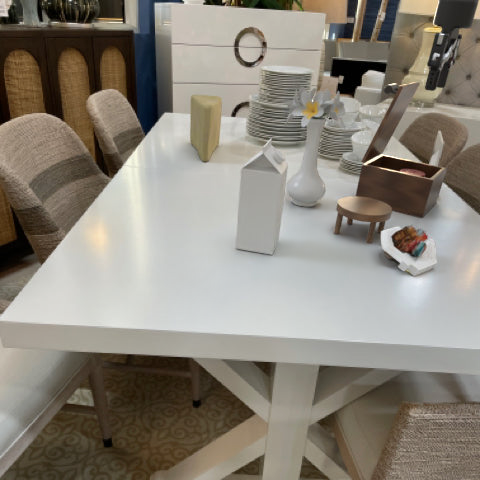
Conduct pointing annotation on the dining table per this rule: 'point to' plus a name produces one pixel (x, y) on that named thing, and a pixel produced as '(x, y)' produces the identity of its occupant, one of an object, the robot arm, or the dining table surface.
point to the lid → (391, 118)
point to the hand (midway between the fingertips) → (434, 88)
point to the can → (413, 172)
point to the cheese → (205, 124)
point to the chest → (401, 184)
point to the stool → (363, 213)
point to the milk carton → (261, 201)
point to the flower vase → (311, 142)
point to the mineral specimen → (409, 248)
